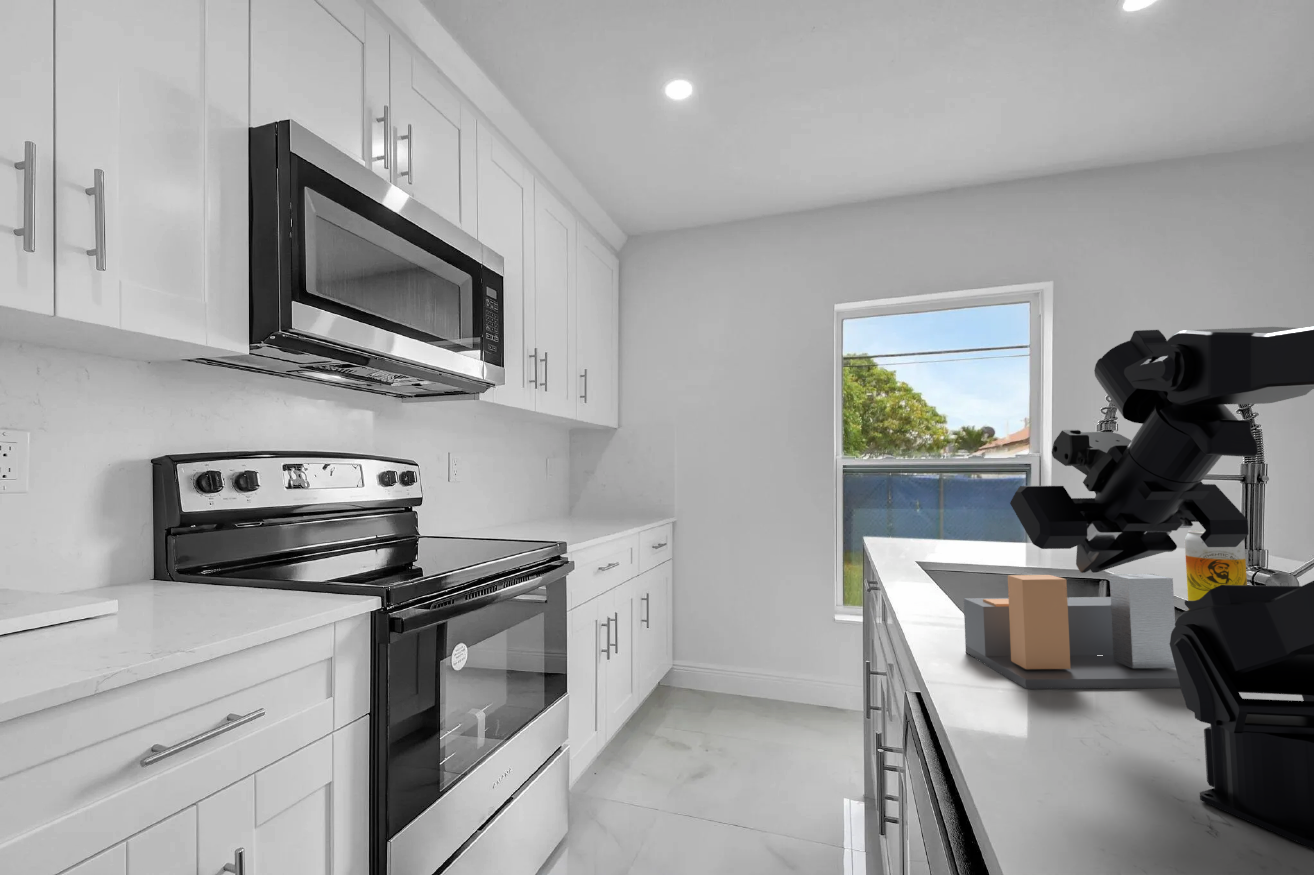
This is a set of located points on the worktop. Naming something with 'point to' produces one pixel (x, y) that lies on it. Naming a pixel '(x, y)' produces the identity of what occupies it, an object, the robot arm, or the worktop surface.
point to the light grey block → (1142, 620)
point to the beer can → (1212, 565)
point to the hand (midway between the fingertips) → (1085, 568)
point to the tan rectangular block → (1039, 621)
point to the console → (1086, 641)
